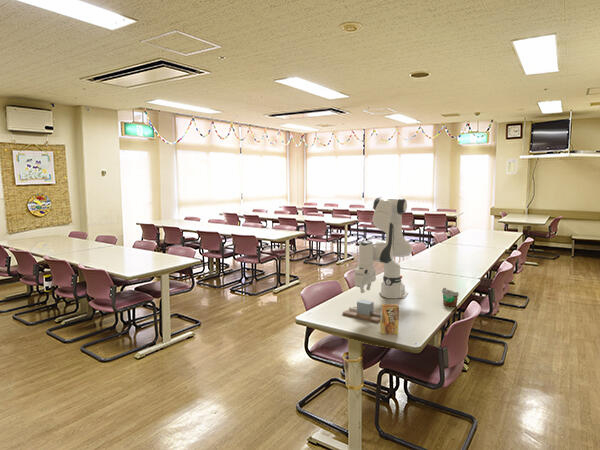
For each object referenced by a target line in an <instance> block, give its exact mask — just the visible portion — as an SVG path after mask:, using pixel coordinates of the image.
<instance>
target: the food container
mask: <svg viewBox="0 0 600 450" xmlns="http://www.w3.org/2000/svg"><path fill="white" fill-rule="evenodd" d="M441 293H442V303H443V304H442V305H443V306H445V307H448V308H457V306H458V298H459V295H460V294H459V292H458V291H457V292H456V291H453V290H450V289H447V288H446V287H443V288H442V290H441Z"/></svg>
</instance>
